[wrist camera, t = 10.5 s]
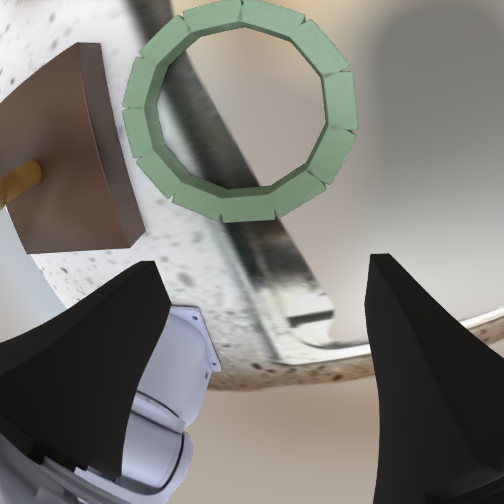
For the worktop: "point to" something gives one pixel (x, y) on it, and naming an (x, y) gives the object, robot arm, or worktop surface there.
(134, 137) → the ring
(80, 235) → the peg stand
